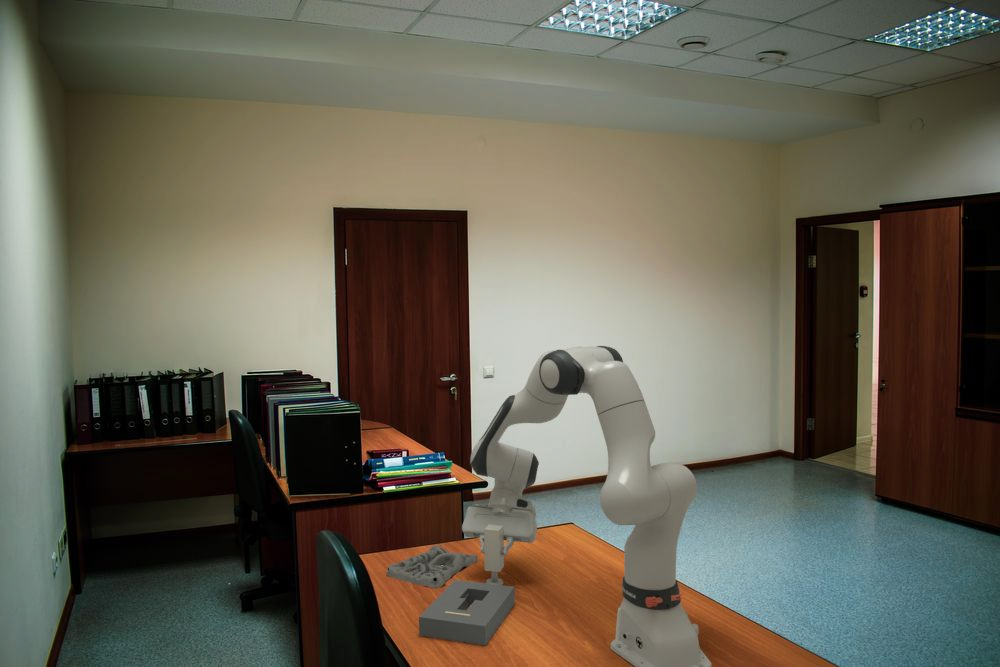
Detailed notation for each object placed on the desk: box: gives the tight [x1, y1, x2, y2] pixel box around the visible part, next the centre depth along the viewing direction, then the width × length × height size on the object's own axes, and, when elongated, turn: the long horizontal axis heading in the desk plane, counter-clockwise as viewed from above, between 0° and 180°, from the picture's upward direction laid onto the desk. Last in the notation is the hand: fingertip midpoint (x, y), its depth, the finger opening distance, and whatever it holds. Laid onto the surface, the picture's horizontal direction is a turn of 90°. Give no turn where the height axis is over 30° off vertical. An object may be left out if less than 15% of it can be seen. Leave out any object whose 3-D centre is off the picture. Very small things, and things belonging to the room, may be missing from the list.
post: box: [483, 524, 505, 586], centre depth 187 cm, size 4×4×16 cm
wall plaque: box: [385, 545, 479, 589], centre depth 202 cm, size 24×19×4 cm
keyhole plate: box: [418, 579, 516, 647], centre depth 169 cm, size 22×16×5 cm
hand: (493, 553), depth 187 cm, fingers closed on post, 4 cm apart
